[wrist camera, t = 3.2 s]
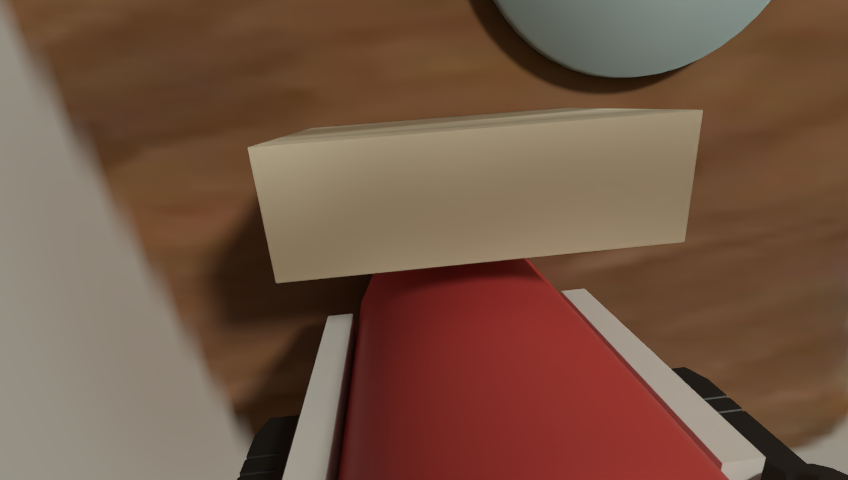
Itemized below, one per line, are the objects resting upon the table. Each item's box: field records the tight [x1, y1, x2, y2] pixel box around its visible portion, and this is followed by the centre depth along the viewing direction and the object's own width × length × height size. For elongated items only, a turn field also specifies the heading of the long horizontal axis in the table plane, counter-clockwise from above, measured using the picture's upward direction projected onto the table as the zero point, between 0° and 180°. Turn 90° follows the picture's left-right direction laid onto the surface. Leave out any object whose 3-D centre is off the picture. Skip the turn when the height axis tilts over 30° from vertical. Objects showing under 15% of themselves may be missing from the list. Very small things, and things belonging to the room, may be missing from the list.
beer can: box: [338, 258, 729, 480], centre depth 9 cm, size 7×7×12 cm
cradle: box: [248, 108, 703, 283], centre depth 12 cm, size 14×8×6 cm, turn 4°
